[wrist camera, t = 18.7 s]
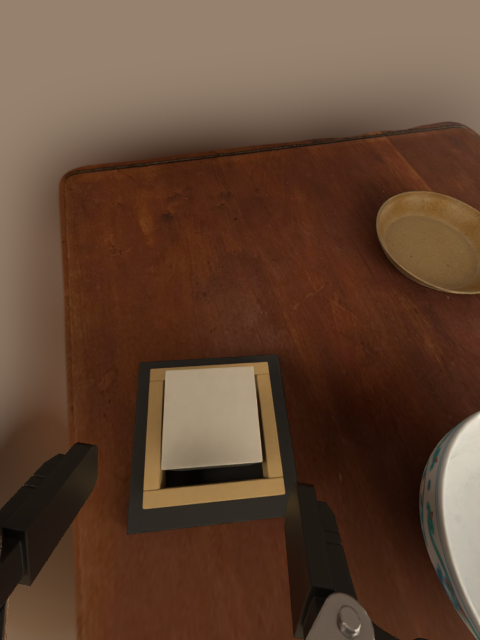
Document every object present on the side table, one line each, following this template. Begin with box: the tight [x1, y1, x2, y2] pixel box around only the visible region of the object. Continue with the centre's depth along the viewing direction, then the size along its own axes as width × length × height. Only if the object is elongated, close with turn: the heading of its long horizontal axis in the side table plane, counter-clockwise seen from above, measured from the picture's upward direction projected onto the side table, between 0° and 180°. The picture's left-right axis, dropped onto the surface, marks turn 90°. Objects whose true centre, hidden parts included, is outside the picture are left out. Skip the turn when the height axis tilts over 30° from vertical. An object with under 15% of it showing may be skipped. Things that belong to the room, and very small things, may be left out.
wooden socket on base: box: [127, 354, 298, 534], centre depth 22 cm, size 12×12×4 cm
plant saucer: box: [376, 191, 480, 294], centre depth 33 cm, size 15×15×3 cm
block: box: [161, 366, 263, 471], centre depth 19 cm, size 5×5×8 cm
